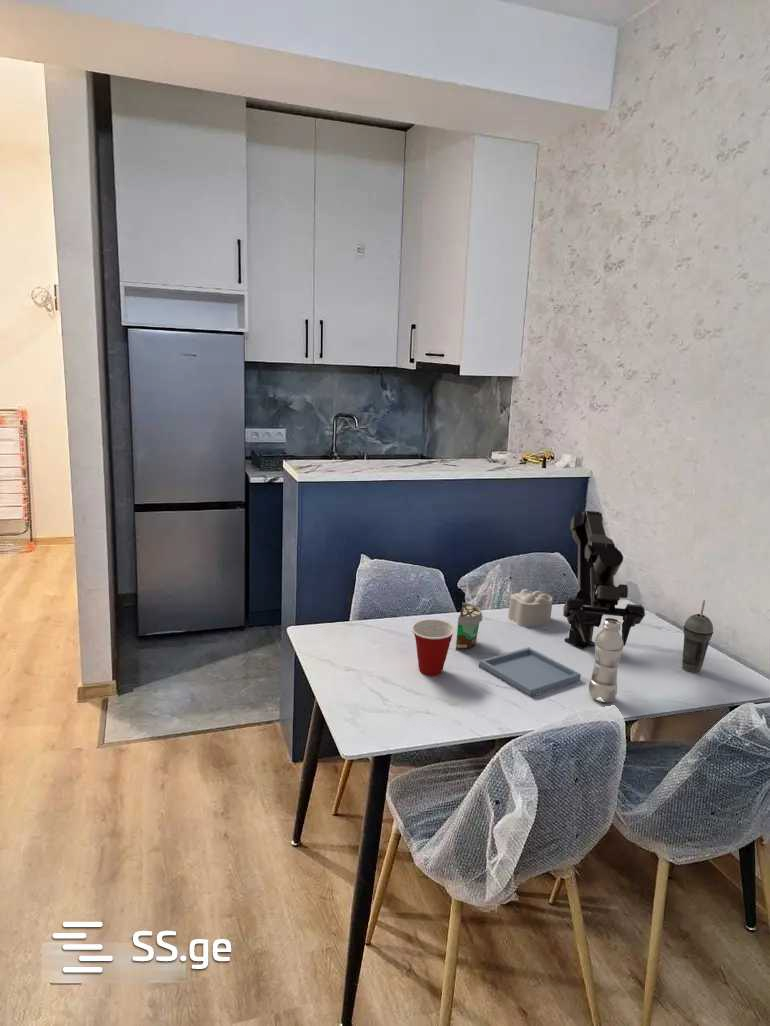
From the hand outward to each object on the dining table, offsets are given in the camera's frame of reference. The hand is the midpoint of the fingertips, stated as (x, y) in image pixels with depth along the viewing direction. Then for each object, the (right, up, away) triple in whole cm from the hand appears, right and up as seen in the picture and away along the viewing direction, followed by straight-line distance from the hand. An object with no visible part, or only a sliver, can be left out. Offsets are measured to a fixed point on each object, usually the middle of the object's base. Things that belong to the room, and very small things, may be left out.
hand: (604, 643), depth 169 cm
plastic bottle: (-1, -13, -2) cm, 13 cm away
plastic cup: (-42, -9, +7) cm, 43 cm away
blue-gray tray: (-16, -10, +9) cm, 21 cm away
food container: (-30, -5, +25) cm, 39 cm away
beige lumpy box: (-8, -2, +46) cm, 47 cm away
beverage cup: (+29, -11, +18) cm, 36 cm away
